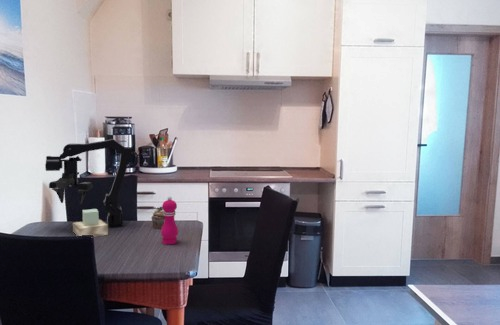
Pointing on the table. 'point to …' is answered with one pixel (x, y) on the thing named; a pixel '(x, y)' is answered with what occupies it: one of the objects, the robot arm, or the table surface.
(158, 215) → the cupcake
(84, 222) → the cube
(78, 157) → the robot arm
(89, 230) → the birch box
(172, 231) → the pepper mill
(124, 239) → the table surface
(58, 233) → the table surface
